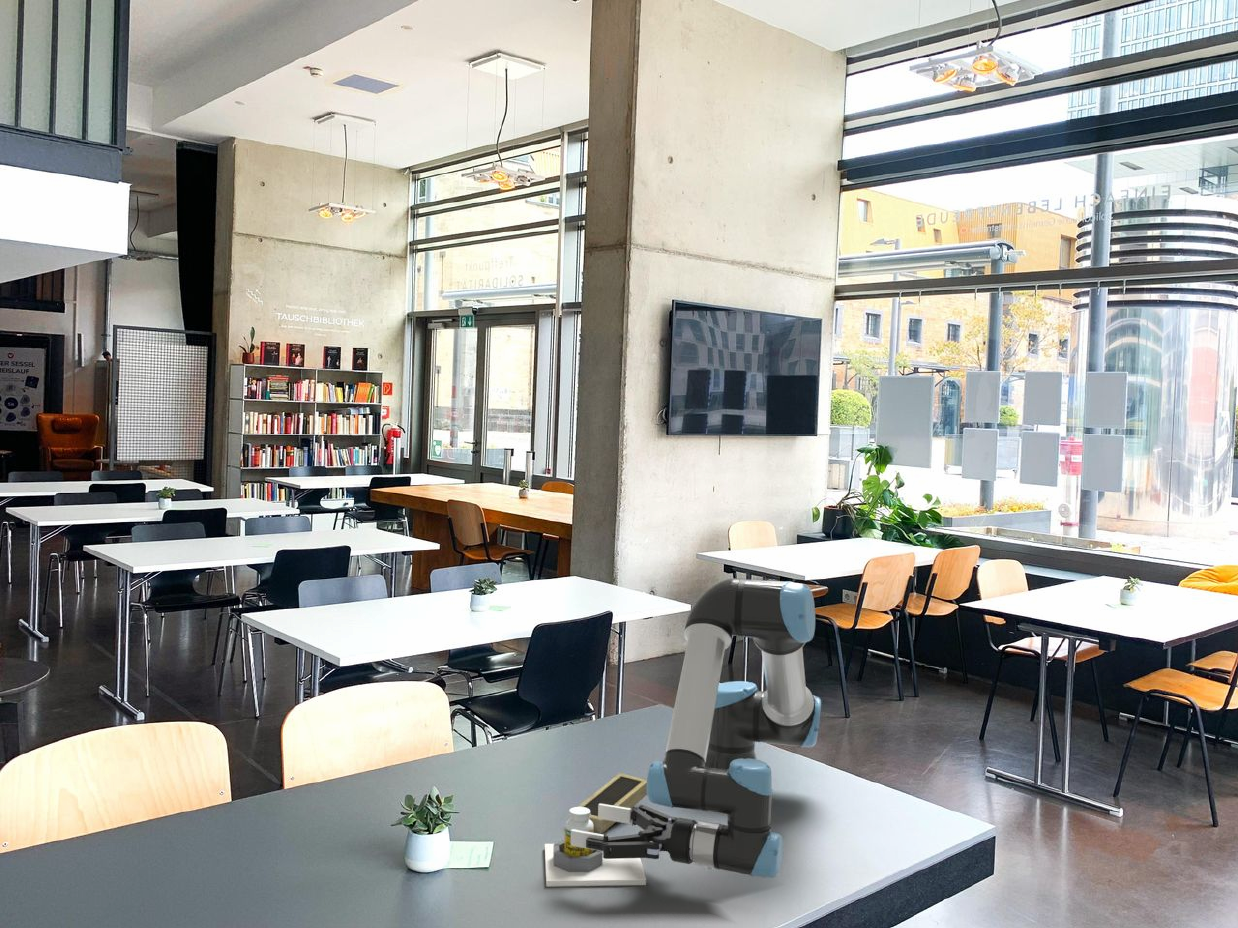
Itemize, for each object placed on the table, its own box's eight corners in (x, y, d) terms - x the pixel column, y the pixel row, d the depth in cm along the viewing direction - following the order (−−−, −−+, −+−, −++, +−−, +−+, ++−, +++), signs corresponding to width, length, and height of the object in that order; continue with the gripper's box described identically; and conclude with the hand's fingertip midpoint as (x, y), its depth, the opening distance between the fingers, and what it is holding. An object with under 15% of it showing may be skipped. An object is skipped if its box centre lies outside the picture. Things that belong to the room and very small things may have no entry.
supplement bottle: (596, 857, 187) (598, 807, 187) (587, 868, 182) (589, 817, 181) (569, 852, 188) (571, 803, 188) (559, 864, 183) (561, 813, 183)
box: (651, 799, 216) (650, 778, 215) (595, 851, 197) (593, 829, 196) (619, 792, 220) (618, 771, 220) (562, 842, 202) (560, 820, 201)
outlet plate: (636, 847, 194) (636, 830, 194) (645, 884, 178) (646, 865, 178) (544, 848, 192) (545, 831, 192) (546, 886, 176) (546, 867, 176)
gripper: (674, 892, 165) (558, 870, 172) (712, 836, 189) (608, 819, 196) (675, 848, 165) (559, 828, 172) (713, 798, 188) (609, 782, 196)
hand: (585, 823), depth 184 cm, fingers open, 13 cm apart
